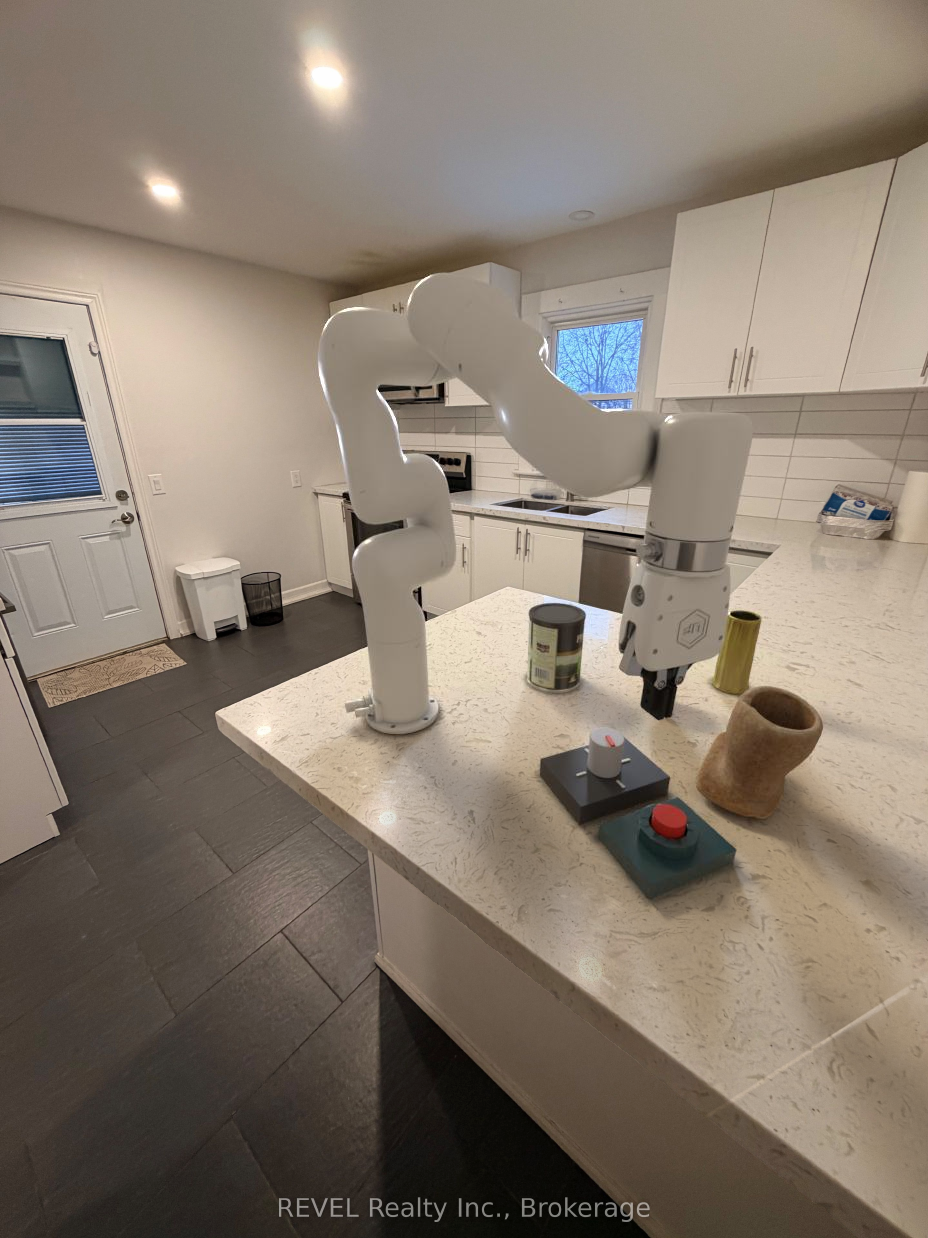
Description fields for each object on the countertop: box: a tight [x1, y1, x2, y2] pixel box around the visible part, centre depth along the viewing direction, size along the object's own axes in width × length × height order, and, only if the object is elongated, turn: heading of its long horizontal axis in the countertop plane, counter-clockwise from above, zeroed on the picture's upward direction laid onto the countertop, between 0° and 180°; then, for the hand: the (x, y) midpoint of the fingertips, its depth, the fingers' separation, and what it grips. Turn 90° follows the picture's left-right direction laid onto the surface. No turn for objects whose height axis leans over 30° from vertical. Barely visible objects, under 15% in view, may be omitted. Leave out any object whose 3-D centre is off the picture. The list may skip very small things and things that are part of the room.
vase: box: [711, 609, 763, 695], centre depth 90 cm, size 6×6×14 cm
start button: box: [651, 804, 687, 839], centre depth 56 cm, size 4×4×2 cm
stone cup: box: [695, 685, 824, 820], centre depth 65 cm, size 15×12×15 cm
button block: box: [597, 796, 737, 900], centre depth 57 cm, size 12×9×4 cm
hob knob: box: [587, 726, 624, 778], centre depth 66 cm, size 4×4×5 cm
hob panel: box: [539, 736, 671, 826], centre depth 68 cm, size 14×10×3 cm
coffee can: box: [526, 602, 587, 694], centre depth 93 cm, size 10×10×14 cm
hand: (655, 712), depth 55 cm, fingers closed
